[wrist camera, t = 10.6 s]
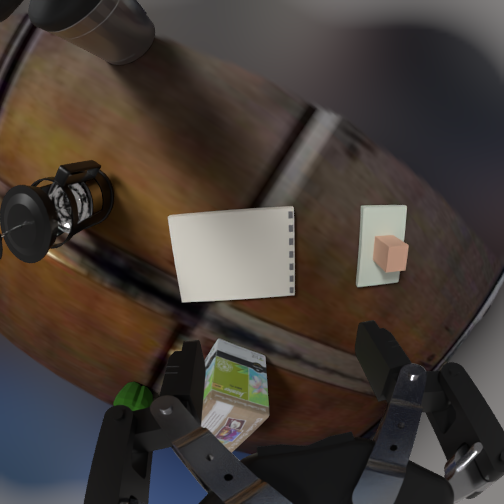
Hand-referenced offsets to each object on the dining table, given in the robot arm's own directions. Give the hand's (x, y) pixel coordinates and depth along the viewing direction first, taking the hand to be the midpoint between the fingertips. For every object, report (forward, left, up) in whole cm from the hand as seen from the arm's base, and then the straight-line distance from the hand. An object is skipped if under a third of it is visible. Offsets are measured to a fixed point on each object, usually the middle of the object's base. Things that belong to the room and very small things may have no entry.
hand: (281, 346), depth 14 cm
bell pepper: (+36, -28, -30) cm, 55 cm away
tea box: (+30, -8, -30) cm, 43 cm away
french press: (-6, -26, -30) cm, 40 cm away
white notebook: (+6, -4, -30) cm, 31 cm away
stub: (+6, +20, -29) cm, 36 cm away
